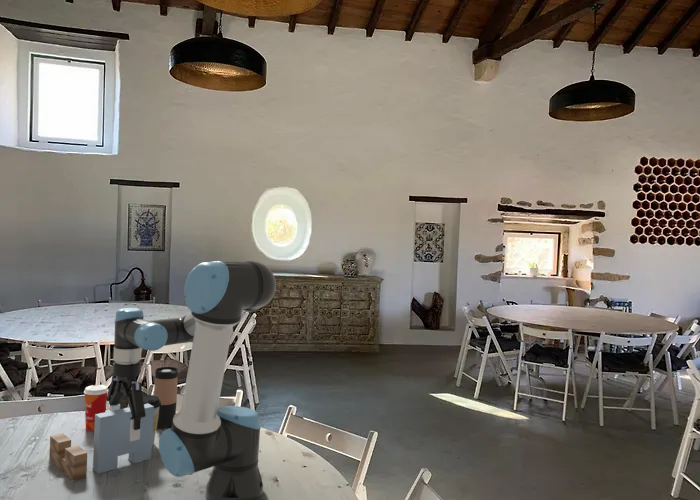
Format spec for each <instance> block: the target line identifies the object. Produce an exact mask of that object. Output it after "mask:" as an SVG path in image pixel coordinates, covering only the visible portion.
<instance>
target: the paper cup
mask: <svg viewBox="0 0 700 500" xmlns="http://www.w3.org/2000/svg"><path fill="white" fill-rule="evenodd" d="M108 392H109V388H108V386H107V385H106V384H105V385H104V384H96V385H95V384H94V385H93V384H91V385H89V386H86V387H85V388H84V391H83V394H84V418H85V419H84V421H85V430H86V431H89V432H94V428H95V414H100V413H104V412H107V402H108V401H107V395H108Z"/></svg>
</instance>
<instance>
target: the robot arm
mask: <svg viewBox="0 0 700 500" xmlns="http://www.w3.org/2000/svg"><path fill="white" fill-rule="evenodd" d="M190 270H191V271H189V273H188V275H187V276H186V277H187V278H186V280H185V284H184V289H183V295H184V297H185V299H184V302H185V305H186V306H187V308H188V310H189V311H191V312H189V313H188V314H186V315H184V316H182V317H174V318H166V319H165V318H163V319H154V320H147V319H144V318H145V316H144V312H143V309H142V308H137V307H122V308H119V309H117V310H116V312H115V320H114V343H113V344H114V346H113V357H112V358H113V363H112V364H113V365H112V374H111V381H110V386H109V388H108V390H109V391H108V392H107V402H108V405H110V406H109V411H114V410H119V409H121V403H122V402H121V399H122V397H123V395H124V397H125V398H126V399H127V403H128V408H129V407H130V411H131V414H132V417H131V418H130V441H135V440H139V439H140V426H141V418H142V417H145V416H146V414H145V408H144V402H143V395H144V394H143V392H142V391H143V390H142V387H143V386H142V385H143V384H142V381H138V382H137V379H136V378H137V376H139V375H140V374H141V371H142V368H141V367H142V362H141V360H142V352H143V350H145V351H153V352H154V351H158V350H161V349H162V348H163V347H165V346H166V347H167V346H171V345H177V344H178V345H179V344H188V343H192V344H191V346H192V347H191V351H190V356H189V362H188V368H187V375H186V381H185V386H184V391H183V398H182V404H181V408H180V410H179V411H177V412H176V414H175V415H174V417H173V422H172V428H169V429H164V430H163V431H162V432H160V433H161V434H160V436H159V439H158V450H159V455H160V458H161V460H162V464H163V465H164V467H165V469H166V471H168V473H170V475H172V476H174V477H177V478H181V477H185V476H191V475H194V474H195V473H198V472H201V471H204V470H207V469H209V468H212V471H211V473H210V476H209V479H208V481H207V484H206V486H205V499H206V500H261V498H262V497H263V495H264V483H263V479H262V476H261V472H260V468H259V453H260V452H259V450H260V449H259V448H260V436H261V435H260V434H261V433H260V432H261V416H260V414H259V413H258V412H257V411H256V410H254V409H252V408H248V407H247V406H246V407H245V406H238V405H224V406H221V407H219V401H220V397H221V392H222V386H223V383H224V382H223V381H224V376H225V371H226V370H225V369H226V365H227V361H228V360H227V359H228V354H229V349H230V344H231V338H232V332H233V328H234V327H235V326H236V325H237V324H239V323H240V322H241V320H242V314H244V313H246V312H248V313H251V312H255V311H257V310H259V309H261V308H263V307H265V306H266V305H268V304H269V303H270V302H272V300H273V299H274V296H275V294H276V291H277V280H276V277H275V274H274V273H273V271H272V270H271V269H270V268H269V267H268V266H266V265H265V264H263V263H261V262H259V261H252V260H246V261H244V260H243V261H236V260H235V261H233V260H232V261H224V260H222V261H220V260H214V261H206V262H201V263H199V264H197V265H196V266H195V267H194V268H192V269H190Z"/></svg>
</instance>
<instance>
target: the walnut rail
mask: <svg viewBox="0 0 700 500" xmlns="http://www.w3.org/2000/svg"><path fill="white" fill-rule="evenodd" d="M48 459H49V461H51V462H52V463H53V464H54V465H55V466H56V467H57V468H58V469H59V470H60V471H61V472H63V473H64V475H66V476H67V477H68V478H69V479H70V480H71V481H72V482H75V481H79V480H83V479H86V478H87V475H88V474H87V472H88V471H87V470H88V451H87V450H85V449H83V448H82V446H81V447H80V445H78V444H77V445H74V446H73V445H72V439H71V438H70V437H68V436H67V435H66V434H64V433H57V434H52V435H50V436H49V457H48Z"/></svg>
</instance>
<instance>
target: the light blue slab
mask: <svg viewBox="0 0 700 500" xmlns="http://www.w3.org/2000/svg"><path fill="white" fill-rule="evenodd" d="M144 408H145V414H146V416H145V417H142V418H141V426H140V439H139V440H135V441H130V418H131V417H132V414H131V411H130V407H129V406H128V407H125V408H120V409H119V410H114V411H110V410H109V411H105V412H104V413H100V414H95V428H94V431H93V433H94V435H93V455H92V458H93V459H92V470H93V472H95V473H96V474H101V473H104V472H108V471H112V470H116V469H118V458H119V457H120V456H121V457H122V456H125V455H128V461H130V462H131V463H132V464H136V463H141V462H144V461H147V460H151V459H152V453H153V452H152V451H153V446H152V435H153V413H154V406H152V405H150V404H144Z"/></svg>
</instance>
